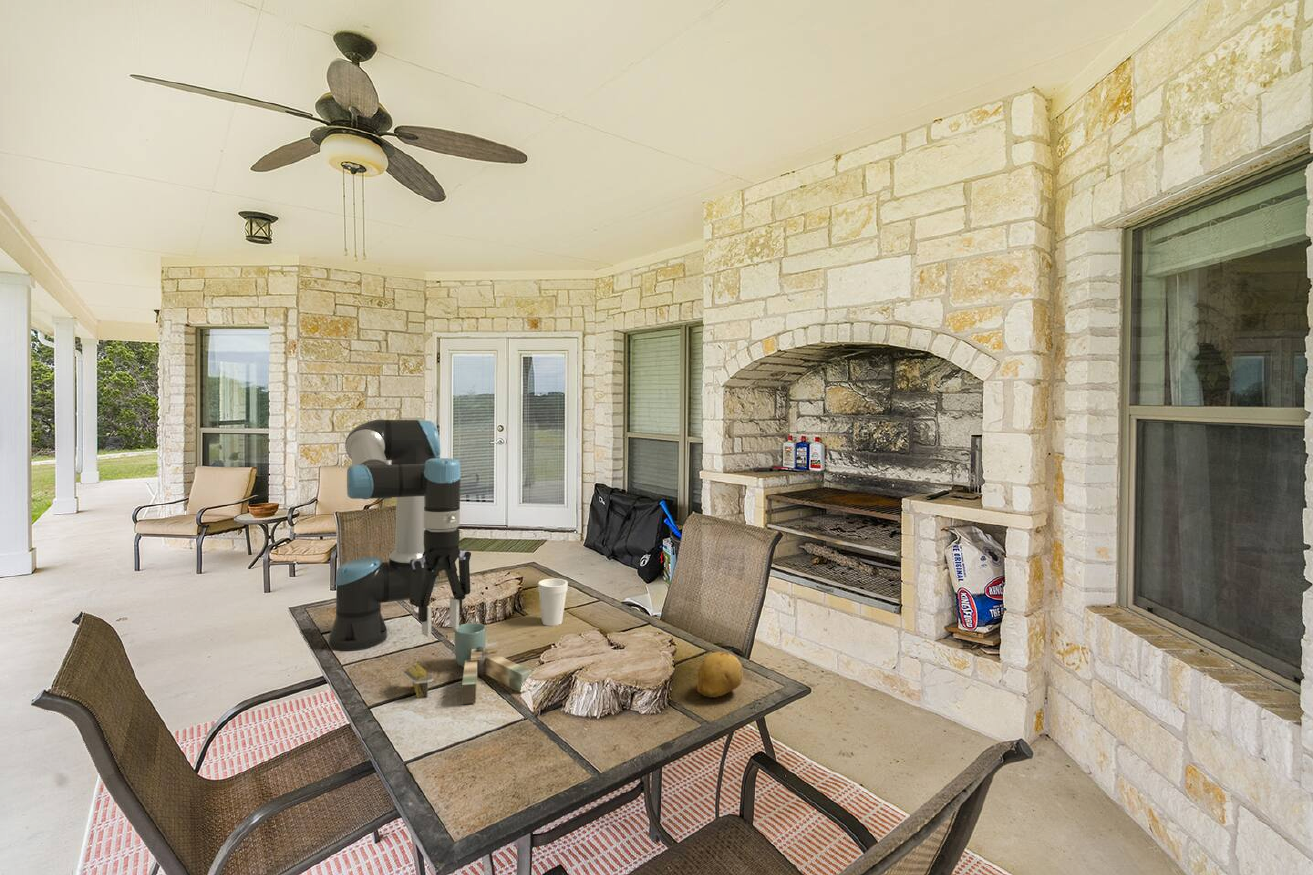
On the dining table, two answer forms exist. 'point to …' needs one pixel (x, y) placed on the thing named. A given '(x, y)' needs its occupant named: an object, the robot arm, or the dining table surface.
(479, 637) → the cup
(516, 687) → the tan green block
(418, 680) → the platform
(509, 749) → the dining table surface
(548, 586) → the foam cup
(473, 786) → the dining table surface
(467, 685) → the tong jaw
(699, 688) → the potato
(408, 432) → the robot arm
